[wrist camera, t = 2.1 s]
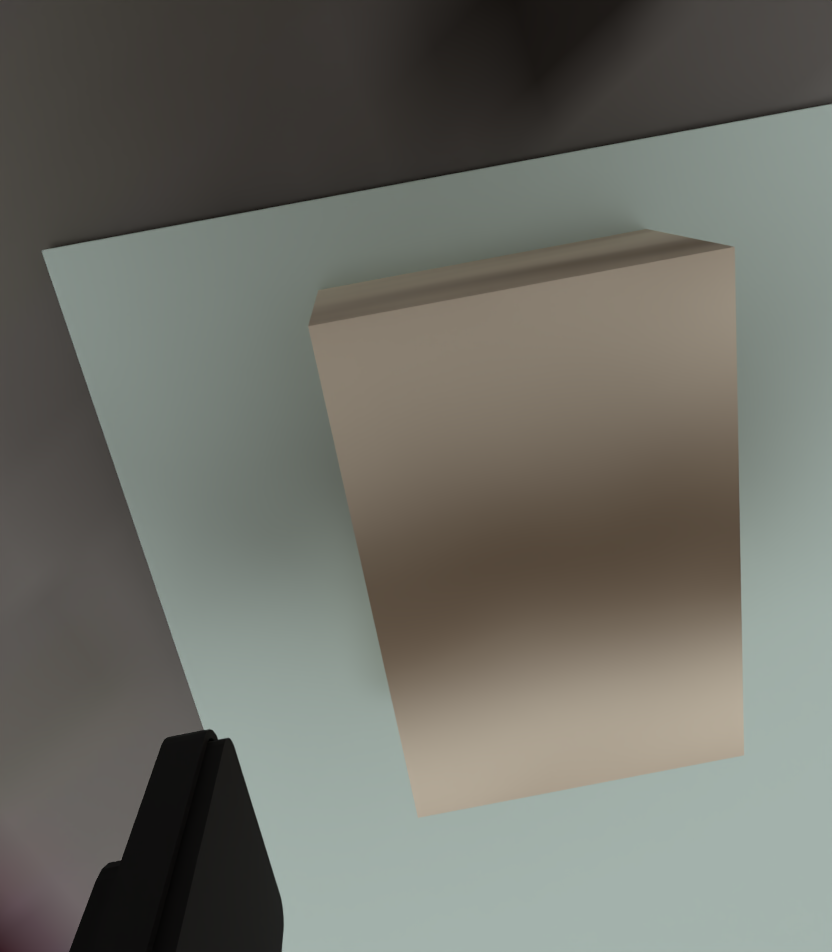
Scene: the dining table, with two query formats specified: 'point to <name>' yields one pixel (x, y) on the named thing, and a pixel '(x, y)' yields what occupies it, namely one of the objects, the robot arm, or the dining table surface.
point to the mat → (342, 580)
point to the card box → (546, 509)
